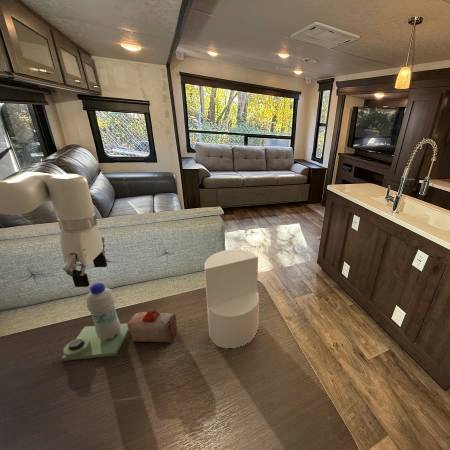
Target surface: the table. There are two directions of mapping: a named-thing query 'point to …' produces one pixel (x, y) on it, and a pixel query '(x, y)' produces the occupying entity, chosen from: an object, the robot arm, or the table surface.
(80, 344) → the tare button
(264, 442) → the table surface
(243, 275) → the cylinder
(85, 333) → the scale
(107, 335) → the bottle
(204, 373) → the table surface
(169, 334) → the food item
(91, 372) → the table surface
